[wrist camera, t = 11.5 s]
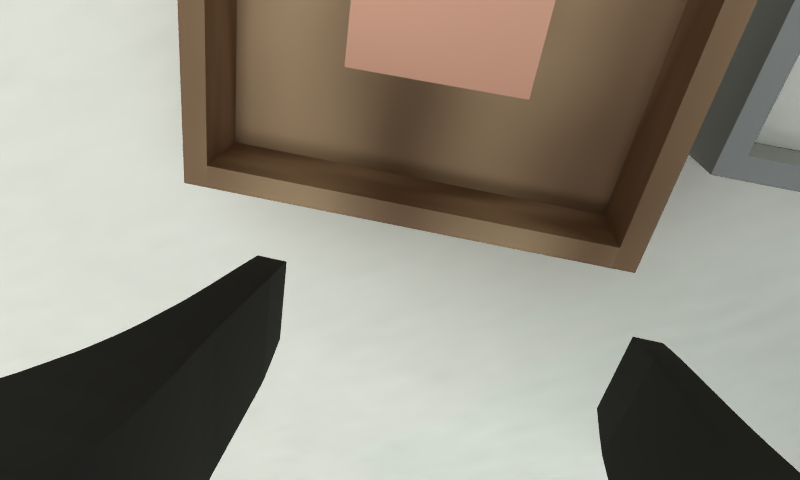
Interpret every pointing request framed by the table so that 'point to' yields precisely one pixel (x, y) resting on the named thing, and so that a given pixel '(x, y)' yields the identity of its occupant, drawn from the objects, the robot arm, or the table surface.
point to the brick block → (451, 41)
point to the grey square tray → (753, 101)
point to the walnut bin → (459, 122)
